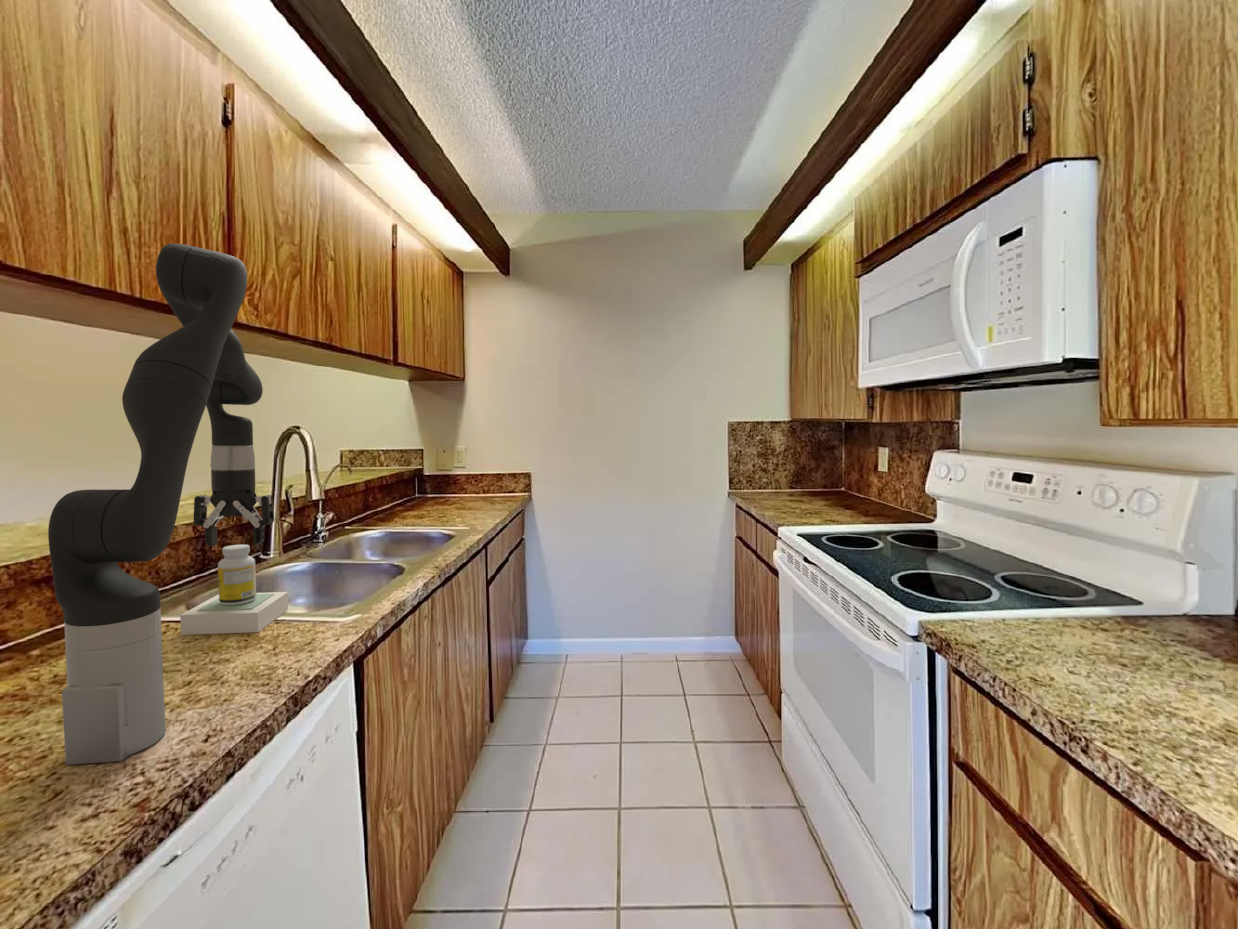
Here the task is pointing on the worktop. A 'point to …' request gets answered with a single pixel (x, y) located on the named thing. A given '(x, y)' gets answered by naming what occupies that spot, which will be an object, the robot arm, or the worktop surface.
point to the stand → (234, 615)
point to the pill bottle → (236, 576)
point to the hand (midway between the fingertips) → (235, 545)
